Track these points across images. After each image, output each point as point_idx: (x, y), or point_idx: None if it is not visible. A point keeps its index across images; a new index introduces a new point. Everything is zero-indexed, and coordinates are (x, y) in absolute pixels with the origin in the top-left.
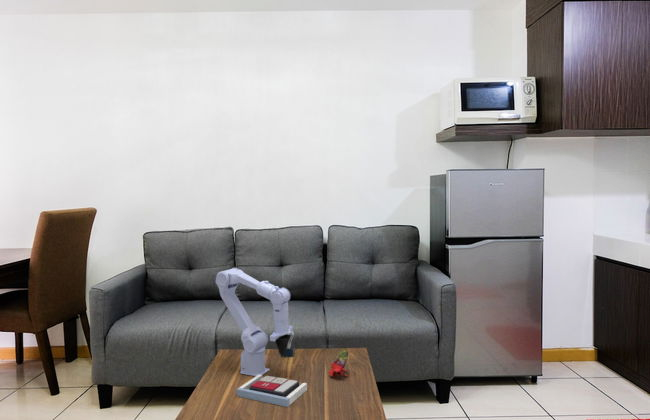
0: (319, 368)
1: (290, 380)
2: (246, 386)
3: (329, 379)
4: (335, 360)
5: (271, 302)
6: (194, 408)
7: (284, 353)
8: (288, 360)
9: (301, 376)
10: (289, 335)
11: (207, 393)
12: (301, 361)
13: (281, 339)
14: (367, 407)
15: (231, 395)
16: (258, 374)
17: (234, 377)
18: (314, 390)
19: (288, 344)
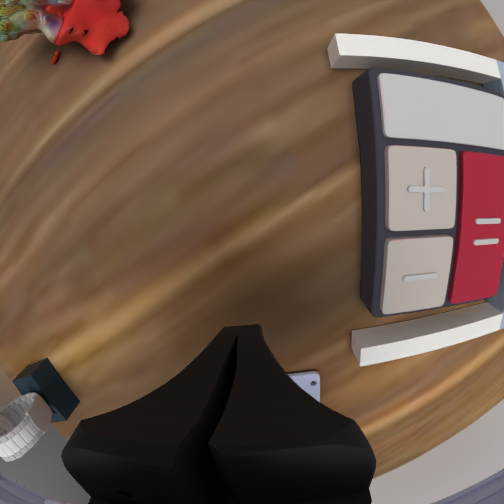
0: (54, 166)
1: (393, 122)
2: (481, 318)
3: (144, 30)
4: (44, 17)
5: None
6: None
7: (252, 327)
8: (78, 359)
9: (183, 179)
10: (96, 463)
11: (484, 397)
12: (48, 300)
13: (371, 476)
14: None
15: (492, 333)
16: (304, 386)
17: None
18: (307, 17)
19: (31, 406)
